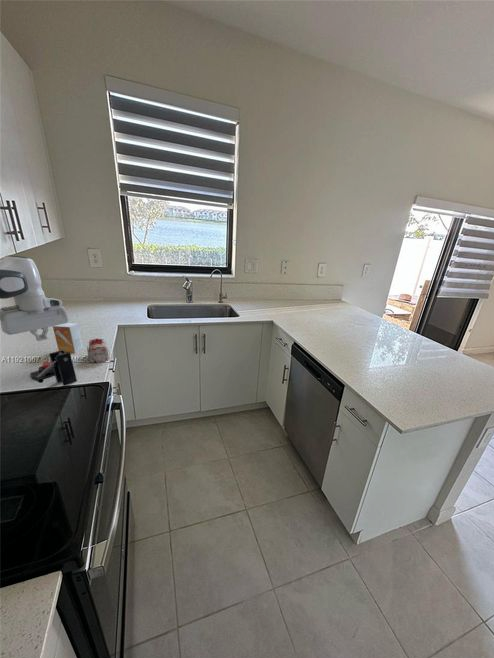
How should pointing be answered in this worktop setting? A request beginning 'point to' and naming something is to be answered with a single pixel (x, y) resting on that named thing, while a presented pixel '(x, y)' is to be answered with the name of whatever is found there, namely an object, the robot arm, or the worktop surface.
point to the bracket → (63, 368)
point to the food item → (97, 350)
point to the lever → (45, 371)
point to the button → (46, 364)
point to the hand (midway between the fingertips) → (42, 339)
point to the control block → (49, 374)
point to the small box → (68, 337)
